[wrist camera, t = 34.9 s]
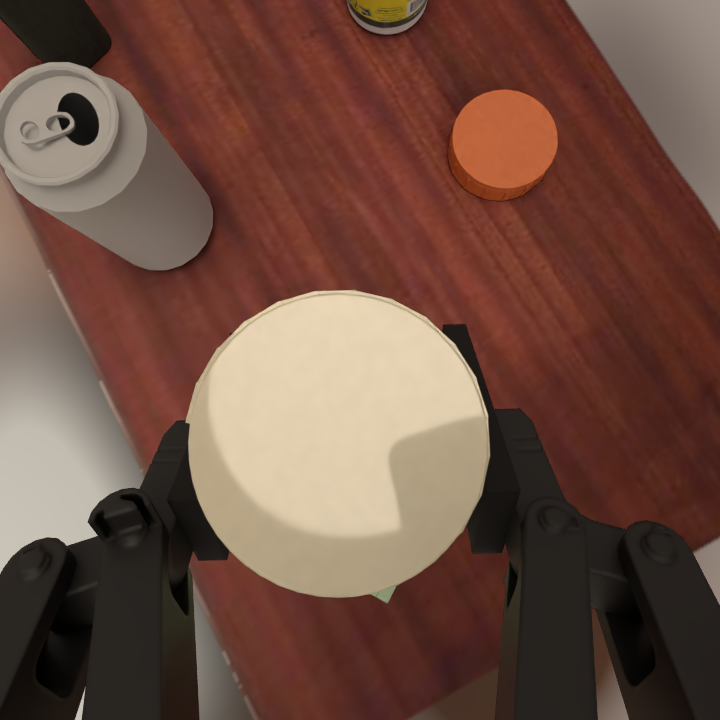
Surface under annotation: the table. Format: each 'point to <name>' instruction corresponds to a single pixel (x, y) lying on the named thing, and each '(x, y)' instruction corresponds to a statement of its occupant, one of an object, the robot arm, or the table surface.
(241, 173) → the table surface
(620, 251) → the table surface
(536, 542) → the robot arm
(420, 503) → the jar
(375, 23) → the pill bottle
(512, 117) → the lid
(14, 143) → the can
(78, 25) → the candle
